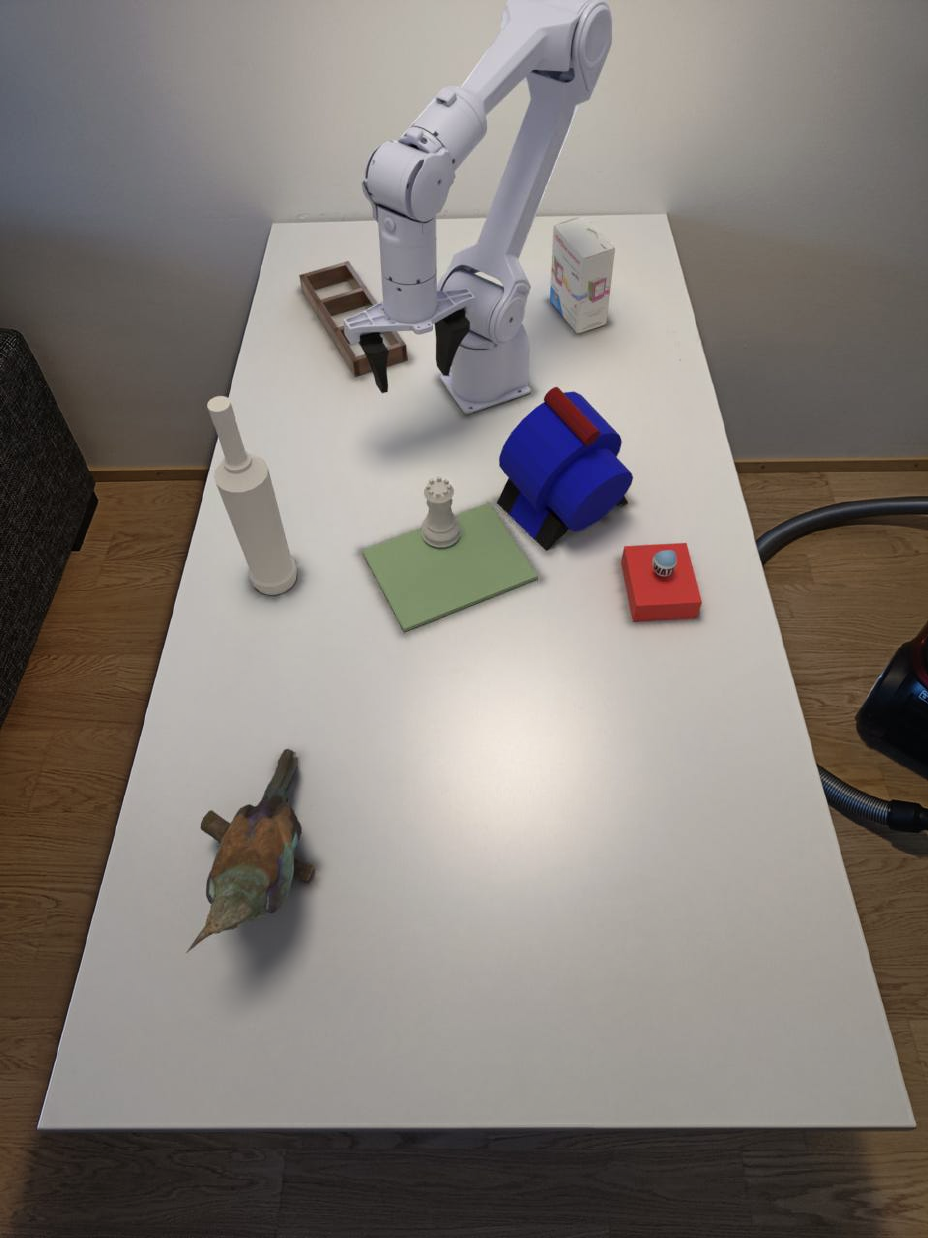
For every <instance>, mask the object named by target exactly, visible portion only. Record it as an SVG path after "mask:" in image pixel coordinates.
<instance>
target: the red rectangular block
mask: <svg viewBox="0 0 928 1238" xmlns="http://www.w3.org/2000/svg"><path fill="white" fill-rule="evenodd" d="M620 564H621V570H622V574H623V579H624V584H625V585H624V586H625V590H626V594H627V599H628V605H629V610H630V614H631V620H632V622H646V621H664V620H666V621H667V620H682V619H697V618H698V616H699V612H700V609H701V606H702V603H703V601H702V597H701V594H700V593H701V592H700V589H699V585H698V581H697V578H696V574H695V571H694V569H695V568H694V566H693V562H692V558H691V554H690V551H689V546H688V543H687V542H677V543H675V542H674V543H658V544H657V543H656V544H640V545H639V544H638V545H624V546H623V550H622V555H621V561H620Z"/></svg>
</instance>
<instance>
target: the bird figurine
mask: <svg viewBox="0 0 928 1238" xmlns="http://www.w3.org/2000/svg"><path fill="white" fill-rule="evenodd" d="M296 756H297V751H293V750H292V749H289V748H284V750H283V751H282V753H281V755H280V757H279V759H278V760H277V766H276V768H275V771H274V773H273V775H272V777H271V779H270V781H269V782H268V784H267V786H266V788H265V790H264V793H263V795H262V797H261V800H260V801H259V802H258V803H257V805H255V806H254V805H253V804H252V803H251V804H250V803H248V804H245V805H243V806H242V807H240V808H239V809H238V810H237V811H236V813H235V814H234V816H233V819H232V821H231V822H229V821H228V820H226V819H225V818H224V817H222V816H220V815H219V814H218V813H216V812H215V811H214V810H212V809H209V810H208V811H207V812H206V813H205V815H204V816H203V817H202V819H201V822H200V826H199V827H200V830H201V831H202V832H203V833H204V834H207V835H208V836H209V837H211V838H212V839H214V840H215V841H216V842H217V843H219V846H218V848H217V851H216V853H215V855H214V859H213V861H212V866H211V869H210V871H209V873H208V876H207V879H206V883H205V884H206V885H205V897H206V900H207V902H208V903H209V904H210V909H209V912H208V914H207V916H206V920H205V924H204V927H203V928H202V929H201V931H200V932H199V933H198V935H197V936H196V938H195V939H194V940H193V942H192V943H191V945H190V946H189V947H188V949H187V951H186V953H185V954H188V953H189V952H190V951H191V950H193V949H194V948H195V947H196V946H197V945H198V944H200V943H201V942H202V941H203V940H205V939H206V938H208V937H210V936H212V935H214V934H215V935H216V934H217V935H218V934H221V933H222V932H224V931H230V930H235V929H238V926H240V925H242V924H243V923H246V922H250V921H253V920H256V919H257V918H259V917H260V916H262V915H263V914H264V913H267V914H274V913H276V912H277V911H278V910H280V909H281V908H282V906H283V905H284V904H285V902H286V901H287V899H288V898H289V896H290V894H291V893H290V892H291V887H292V886H291V885H292V881H293V880H294V879H299V880H302V881H309V880H310V878H311V875H312V873H313V871H314V868H315V865H314V864H313V863H309V862H306V861H304V860H302V859H300V858H298V857H295V852H296V848H297V845H298V843H299V841H300V838H301V836H302V831H303V829H302V825H301V823H300V821H299V820H298V817H297V815H296V814H295V810H294V809H293V807H292V803H291V801H289V797H288V796H289V791H290V788H291V785H292V782H293V779H294V774H295V771H296V770H297V767H298V764H297V763H298V761H297V757H296Z"/></svg>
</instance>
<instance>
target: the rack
mask: <svg viewBox="0 0 928 1238" xmlns="http://www.w3.org/2000/svg"><path fill="white" fill-rule="evenodd" d="M298 277H299V282H300V287H301V291H302V293H303V295H304V296H305V298H306V300H307V301H308V302H309V304H310V306H311V307H312V309H313V310H314V312H315V314H316V315H317V317H318V319H319V320H320V322H321V324H322V326H324V328H325V331H326V332H327V333H328V335H329V336H330V338H331V340H332V341H333V343H334V345H335V346H336V348H337V350H338V351H339V353H340V354H341V356H342V358H343V359H344V361H345V363H346V364H347V366H348V368H349V369H350V371H351V373H352V374H353V376H354V377H355V378H356V377H359V376H361V375H365V374H368V373H371V372H372V369H371V366H370V364H369V362H368V359H367V357H366V355H365V353H363V354H360V355H357V356H356V354H355V352H354V350H353V349H352V348H351V346H350V345H349V344H351V343H350V342H349V340H348V339H347V337H346V336H345V332H344V325H341V326H338V325H337V323H336V322H335V320H334V318H333V317H332V316H336V315H339V314H342V313H346V312H349V311H353V310H357V309H359V308H361V307H365V308H366V309H368V308H370V307H372V306H374V305H376V304H378V303H379V302H378V301H377V300H376V299H375V297H374V296H373V294H372V293H371V291H370V290H369V288H368V287H367V285H366V284H365V283H364V281H363V279H362V278H361V276H360V275H359V274H358V272H357V271H356V269H355V268H354V266H353V264H351V262H350V260H347V261H343V262H339V263H336V264H332V265H329V266H325V267H321V268H319V269H316V270H312V271H308V272H305V273H302V274H299V276H298ZM343 282H348V283H349V285H350V286H351V287H352V289H351V290H348V291H345V292H342V293H339V294H335V295H332V296H329V297H325V298H320V297H319V295H318V294H317V292H316V290H320V289H323V288H326V287H330V286H333V285H337V284H341V283H343ZM381 334H383V335H384V336H385V338H386V340H387V341H388V343H389V344H390V345H389V346H386V347H387V349H388V350H389V353H388V359H387V367H390V366H393V365H396V364H399V363H402V362H405V361H408V348H407V344H406V342H405V341H404V339H403V338H402V336H401V335H400V334H399V331H389V332H382V333H380V335H381Z"/></svg>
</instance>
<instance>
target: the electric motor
mask: <svg viewBox="0 0 928 1238" xmlns="http://www.w3.org/2000/svg"><path fill="white" fill-rule="evenodd" d="M622 443H623V441H622V438H621V435H620V434H619V433H618V432H617V430H616V429H615V428H614V427H612V426H611V424H610V423H609V422H608V421H607V420H606V419H605V418H604V417H603V416H602V415H601V414H600V413H599V412H598V411H597V410H596V409H595V407H593V406H592V404H591V403H590V402H589V401H588V400H587V399H586V398H585V397H584V396H583V394H580V393H579V392H576V391H562V390H561V388H559V387H558V386H553V387H552V388H550V390H548V391H547V392H546V393H545V394H544V396H543V402H542V403H541V404H539V405H538V406H536V407H534V409H533V410H531V411H530V412H529V413H528V414H526V415H525V417H523V418H522V419H521V420H520V422H519V423H518V424H517V425H516V426H515V428H513V430H512V431H511V433H510V434H509V436H508V437H507V439H506V440H505V442H504V444H503V445H502V448H501V451H500V453H499V456H498V466H499V468H500V470H501V471H502V472H503V473H504V474H505V475H506V476H507V480H506V482H505V484H504V486H503V488H502V491H501V492H500V495H499V497H498V499H497V501H496V503H497V505H498V506H500V508H502V510H504V511H505V513H507V514H508V515H509V516H510V517H511V518H512V519H513V520H514V521H515V522H516V523H517V524H518V525H519V526H520V527H521V528H522V529H523V530H524V531H525V532H526V533H527V534H528V535H529V536H530V537H532V539H534V540H535V542H536V543H537V544H538V545H540V546H541V547H542V548H543V549H544V550H545V551H548V550H549V549H550V548H551V547H552V546H553V545H555V544H556V542H558V540H560V539H561V538H562V537H563V536H564V535H565V534H566V533H567V532H568V531H570V532H575V533H576V532H579V531H583V530H585V529H587V528H589V527H591V526H592V525H594V524H596V523H597V522H599V521H600V520H602V519H603V518H604V517H605V516H606V515H608V514H609V513H610V512H611V511H612V510H614V508H615V507H617V506H622V505H628V504H629V501H628V500H627V498H626V496H625V495H626V494H627V493H628V491H629V490H630V488H631V486H632V484H633V480H634V475H633V473H632V472H631V471H630V470H629V469H628V468H627V466H626V465H625V464H624V463H623V462H622V461H621V460H620V459H619V458H618V455H619V454H620V452H621V447H622Z"/></svg>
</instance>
